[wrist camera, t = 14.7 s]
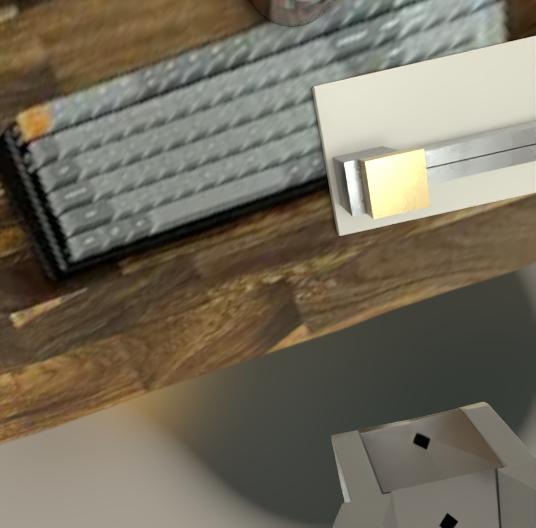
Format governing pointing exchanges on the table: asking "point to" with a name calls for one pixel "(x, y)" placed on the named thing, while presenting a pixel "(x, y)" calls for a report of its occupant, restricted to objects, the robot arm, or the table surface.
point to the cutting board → (432, 121)
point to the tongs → (352, 180)
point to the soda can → (292, 10)
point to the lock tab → (395, 182)
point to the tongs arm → (480, 144)
